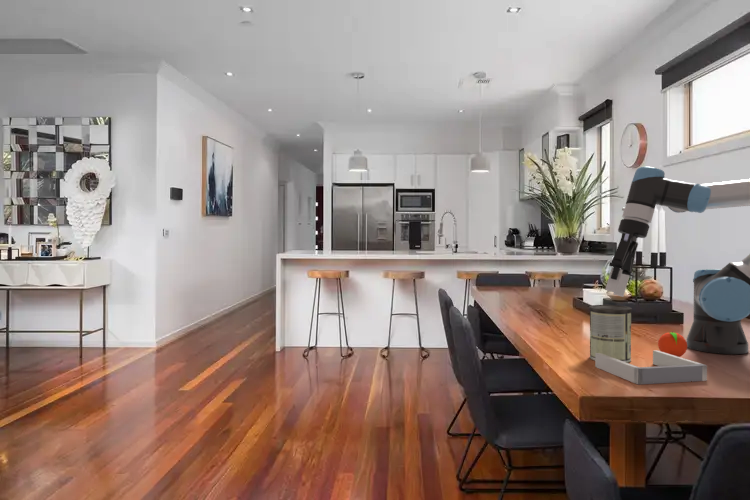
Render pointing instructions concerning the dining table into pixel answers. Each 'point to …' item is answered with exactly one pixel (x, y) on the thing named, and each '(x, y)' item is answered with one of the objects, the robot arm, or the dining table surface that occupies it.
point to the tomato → (672, 344)
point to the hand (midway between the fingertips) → (614, 293)
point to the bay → (654, 369)
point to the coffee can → (610, 331)
